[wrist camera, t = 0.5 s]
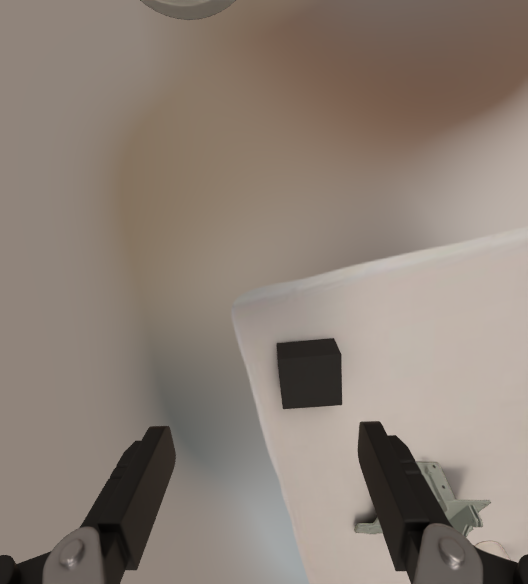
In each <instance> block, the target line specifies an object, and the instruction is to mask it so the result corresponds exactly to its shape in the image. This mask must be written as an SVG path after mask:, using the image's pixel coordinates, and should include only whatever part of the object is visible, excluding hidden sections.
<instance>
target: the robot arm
mask: <svg viewBox="0 0 528 584" xmlns="http://www.w3.org/2000/svg"><path fill="white" fill-rule="evenodd" d="M358 458H359V463H360V466H361V470H362V473H363V475H364V478H365V481H366V484H367V487H368V490H369V493H370V496H371V499H372V502H373V505H374V508H375V511H376V514H377V517H378V520H379V523H380V526H381V529H382V532H383V535H384V538H385V541H386V544H387V547H388V550H389V553H390V555H391V558H392V561H393V564H394V567H395V570H396V571H407V574H408V576H409V579H410V582H411V584H528V554H527V555H524V556H523V557H521V559H520V560H519V563H517V562H514V561H511V560H508V559H505V558H502V557H499V556H496V555H493V554H490V553H488V552H485V551H483V550H481V549H479V548H477V547H475V546H474V545H472V544H471V543H470V541H469V540H468V539H467V538H466V537H465V536H464V535H462V534H461V533H460V532H459V531H457V530H455V529H454V527H453V526H452V525H451V523H450V522H449V520H448V519H447V517H446V515H445V513H444V511H443V510H442V508H441V506H440V504H439V502H438V501H437V499H436V497H435V495H434V493H433V492H432V490H431V488H430V486H429V484H428V483H427V481H426V479H425V477H424V475H422V473H421V470H420V468H419V466H418V465H417V463H416V462H415V459H414V457H413V456H412V454H411V452H410V450H409V449H408V447H407V446H406V445H405V444H404V443H403V442H402V441H401V440H400V439H399V438H398V437H397V436H396V435H393V436H387V434H386V432H385V430H384V428H383V426H382V424H381V423H380V422H379V421H371V422H360V425H359V439H358ZM175 459H176V454H175V448H174V444H173V439H172V435H171V430H170V427H169V426H153V427H149V428H148V430H147V432H146V434H145V435H144V437H143V439H142V441H135V442H134V443H133V444H132V445H131V446H130V447H129V448H128V449H127V450H126V451H125V452H124V453H123V455H122V457H121V458H120V460H119V462H118V464H117V467H116V468H115V469H114V471H113V472H112V474H111V476H110V479H108V481H107V482H106V484H105V486H104V488H103V489H102V491H101V493H100V494H99V496H98V498H97V499H96V501H95V503H94V505H93V506H92V508H91V510H90V511H89V513H88V515H87V517H86V518H85V520H84V522H83V523H82V525H81V526H80V528H79V529H76V530H75V531H73V532H71V533H70V534H68V535H67V536H65V537H64V538H63V539H62V540H61V541H60V542H59V543H58V544H57V545H56V546H55V547H54V549H53V550H52V551H51V552H48V553H46V554H43V555H40V556H38V557H35V558H32V559H29V560H27V561H24V562H21V563H19V564H16V563H15V561H14V560H13V558H12V557H11V556H8V555H1V556H0V584H120V582H121V579H122V577H123V574H124V572H125V570H137V568H138V566H139V563H140V560H141V557H142V555H143V552H144V549H145V546H146V543H147V541H148V538H149V535H150V532H151V530H152V527H153V524H154V522H155V519H156V516H157V513H158V511H159V508H160V505H161V502H162V500H163V497H164V494H165V491H166V488H167V486H168V483H169V480H170V478H171V475H172V472H173V469H174V465H175Z"/></svg>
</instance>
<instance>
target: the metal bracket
mask: <svg viewBox="0 0 528 584" xmlns="http://www.w3.org/2000/svg"><path fill="white" fill-rule="evenodd" d="M416 463H417V465H418V466H419V468H420V470H421V473H422V475H424V477H425V479H426V481H427V483H428V484H429V486H430V488H431V490H432V492H433V493H434V495H435V497H436V499H437V501H438V502H439V504H440V506H441V508H442V510H443V511H444V513H445V515H446V517H447V519H448V520H449V522H450V523H451V525H452V526H453V527H454V529H455V530H457V531H459V532H460V533H461V534H462V535H464V536H465V537H467V535H468V533H469V532H470V531H472V530H473V527H483V523H482V520H481V518H480V516H479V514H478V512H479V511H481V510H482V509H483V508H485V507H486V506H488V505H489V504H490V503H491V502H490V500H456V499H455V497H454V495H453V492H452V490H451V488H450V486H449V484H448V482H447V480H446V477H445V475H444V473H443V471H442V469H441V467H440V465H439V464H438V463H432V462H416ZM433 466H435V468H434V467H433ZM442 486H444V488H445V489H443V488H442ZM477 519H478V521H479V522H478V521H477ZM354 530H355V533H367V534H377V533H383V532H382V529H381V526H380V523H379V520H378V517H377V519H376V520H375V521H374V523H359V524H357V526H356V528H355V529H354Z"/></svg>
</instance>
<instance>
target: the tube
mask: <svg viewBox="0 0 528 584" xmlns="http://www.w3.org/2000/svg"><path fill="white" fill-rule="evenodd" d="M475 547H477V548H479V549H481V550H483V551H485V552H488V553H490V554H493V555H496V556H499V557H502V558H505V559H508V560H510V558H509V557H508V555H507V554H506V552H505V551H504V549H503V548H502V546H501V545H500V544H499V543H497V542H494V541H485V542H481V543H479V544H477V545H475Z"/></svg>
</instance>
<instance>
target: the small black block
mask: <svg viewBox="0 0 528 584" xmlns="http://www.w3.org/2000/svg"><path fill="white" fill-rule="evenodd" d="M277 360H278V369H279V378H280V387H281V396H282V405H283V409H292V408H306V407H320V406H335V405H342V373H341V353H340V351H339V348H338V346H337V344H336V342H335V340H334V338H333V339H321V340H309V341H298V342H286V343H277Z"/></svg>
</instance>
